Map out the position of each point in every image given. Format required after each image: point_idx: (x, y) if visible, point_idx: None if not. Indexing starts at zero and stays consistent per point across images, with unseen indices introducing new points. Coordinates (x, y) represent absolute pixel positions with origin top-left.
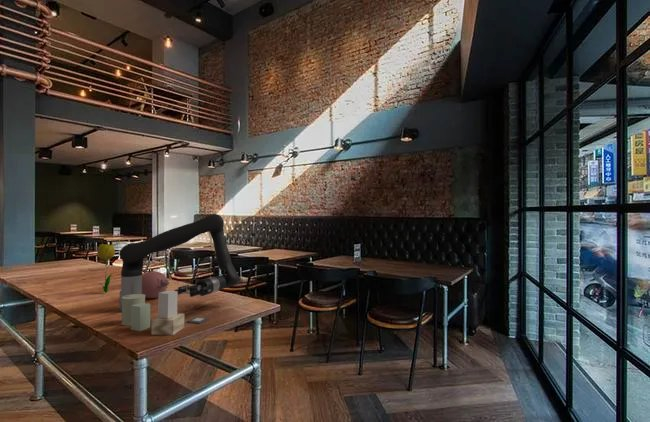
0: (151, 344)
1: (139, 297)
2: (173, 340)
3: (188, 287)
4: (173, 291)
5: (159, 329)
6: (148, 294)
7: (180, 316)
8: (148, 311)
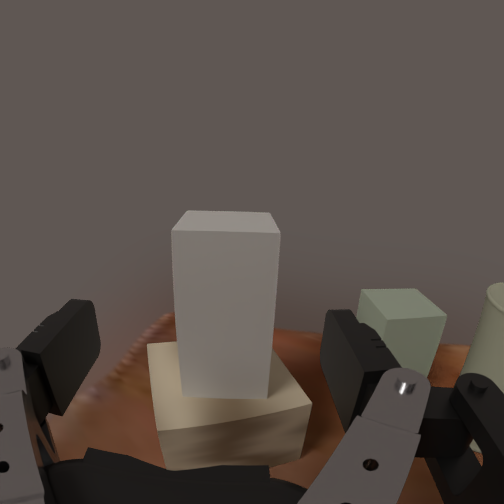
0: (175, 338)
1: (500, 304)
2: (120, 365)
3: (336, 461)
4: (203, 226)
5: None
6: None
7: (152, 395)
8: None
